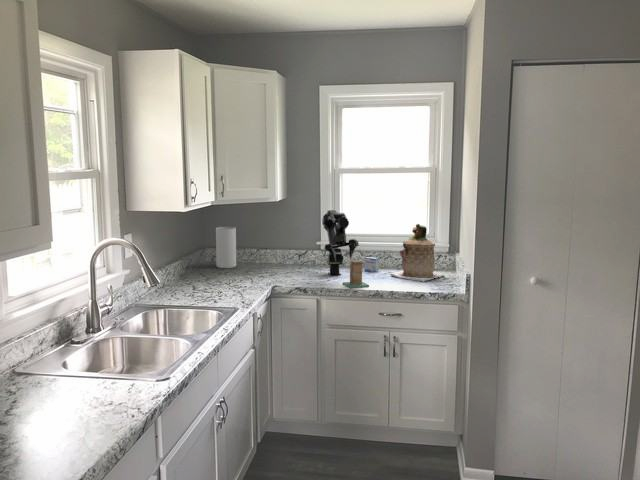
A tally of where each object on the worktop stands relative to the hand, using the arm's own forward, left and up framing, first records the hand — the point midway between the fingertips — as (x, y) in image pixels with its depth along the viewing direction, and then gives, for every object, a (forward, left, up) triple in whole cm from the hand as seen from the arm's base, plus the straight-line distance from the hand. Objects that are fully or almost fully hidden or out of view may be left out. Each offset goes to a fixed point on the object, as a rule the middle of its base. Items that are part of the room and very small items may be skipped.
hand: (342, 259), depth 308 cm
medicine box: (-26, +26, -13) cm, 38 cm away
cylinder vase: (-58, -61, -13) cm, 85 cm away
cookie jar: (-6, +48, -13) cm, 50 cm away
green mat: (+10, +5, -13) cm, 17 cm away
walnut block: (+10, +5, -12) cm, 16 cm away
